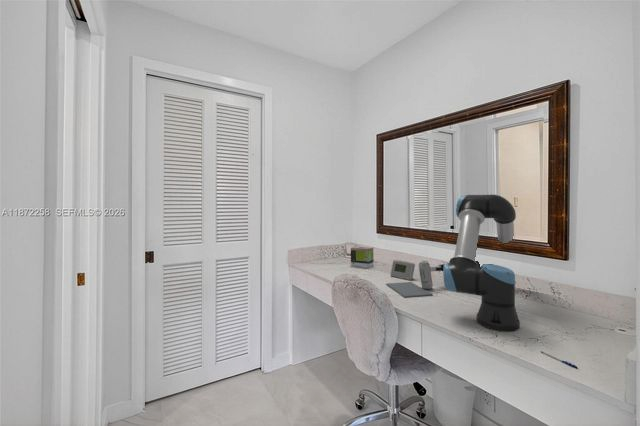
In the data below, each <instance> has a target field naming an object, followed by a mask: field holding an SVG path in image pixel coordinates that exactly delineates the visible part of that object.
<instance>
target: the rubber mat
mask: <svg viewBox="0 0 640 426" xmlns="http://www.w3.org/2000/svg"><path fill="white" fill-rule="evenodd" d="M385 285H386V286H387V287H388V288H390V289H391V290H392V291H395V292H396V293H397V294H399V296H402V297H403V298H405V299H406V298H419V297H420V298H421V297H431V296H432V297H433V295H434V294H433V293H431V292H430V291H429V290H427V289H423V287H422V286H419V285H418V284H416V283H414V282H412V281H405V282H392V283H391V282H390V283H389V282H388V283H387V282H386V283H385Z"/></svg>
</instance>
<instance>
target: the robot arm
mask: <svg viewBox="0 0 640 426" xmlns="http://www.w3.org/2000/svg"><path fill="white" fill-rule="evenodd" d="M455 214H456V217H457V218H458V220H459V221H460V223H459V229H458V235H457V240H456V246H455V251H454V255H453V257H452V258H450V259H449V262H447V263H443V264H438V265H433V266H432V265H430V270H431V273H433V272H443V273H442V276H443V284H444V287H445V289H446V290H448V291H450V292H455V293H461V294H467V295H474V296H480V297H481V301H480V302H481V303H480V306H479V309H478V311H477V313H476V322H477V324H479V325H481V326H483V327H485V328H487V329H491V330H494V331H501V332H516V331H518V330H520V328H521V326H520V325H521V324H520V323H521V321H520V319H519V315H518V313H517V310H516V306H515V305H516V284H517V282H516V274H515V272H514V271H513V269H510V268H508V267H505V266H501V265H498V264H494V263H493V264H483V265H482V266H481V267H480V264H479V262H478V261H475V257H476V250H477V243H478V239H479V237H480V236H479V235H480V230H481V229H480V228H481V224H483V223H484V222H485V220H486V219H493V220H494V222H495V224H496V233H497V241H498V240H499V241H500V242H502V243H507V242H509V241H511V240H512V239H513V236H514V237H515V224H514V221H515V220H516V217H517V216H516V215H517V213H516V209H515V208H514V206H513V204H512V203H511V202H510V201H509V200H507V199H506V198H505V197H503V196H501V195H498V194H463V195H460V197H458V199H457V202H456V207H455Z"/></svg>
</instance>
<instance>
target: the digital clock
mask: <svg viewBox="0 0 640 426" xmlns="http://www.w3.org/2000/svg"><path fill="white" fill-rule="evenodd" d="M415 266H416V265H415V263H414V262H411V261H404V260H399V259H398V260H397V259H393V261H392V264H391V270H390V277H394V278H396V279H402V280H408V281H413V276H414V271H415V268H416V267H415Z"/></svg>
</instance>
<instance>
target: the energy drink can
mask: <svg viewBox="0 0 640 426" xmlns="http://www.w3.org/2000/svg"><path fill="white" fill-rule="evenodd" d="M418 263H419V264H418V270H419V271H418V272H419V276H420V277H419V278H420V285H421V288H423V289H425V290H430V289H433V286H434V285H433V279H432V278H433V277H432V272H431V270H430V266H431V265H430V263H429V261H428V260H421V261H419V262H418Z"/></svg>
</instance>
